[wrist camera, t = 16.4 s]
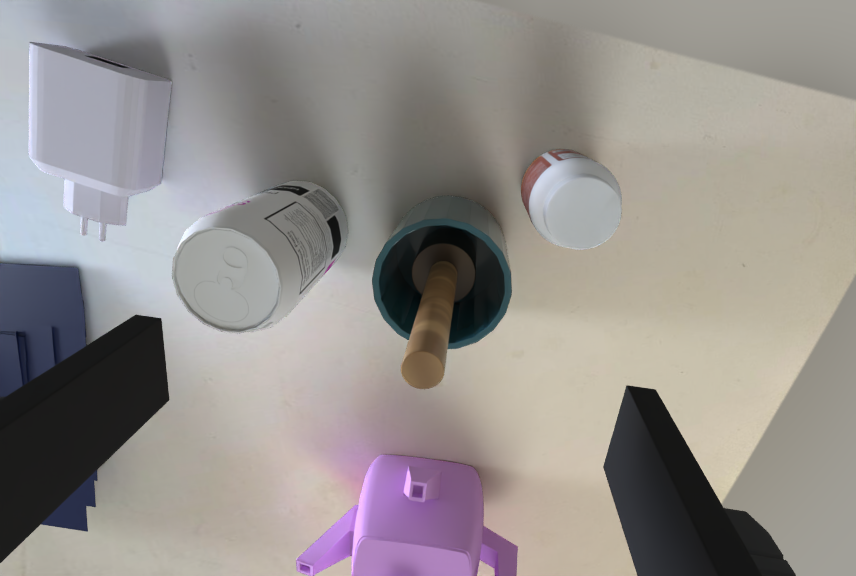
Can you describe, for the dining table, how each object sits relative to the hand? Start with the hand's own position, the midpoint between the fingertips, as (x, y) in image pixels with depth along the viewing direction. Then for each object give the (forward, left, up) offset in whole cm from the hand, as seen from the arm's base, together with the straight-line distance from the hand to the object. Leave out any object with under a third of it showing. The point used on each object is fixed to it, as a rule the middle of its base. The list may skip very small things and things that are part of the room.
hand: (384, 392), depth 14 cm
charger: (+26, -15, -31) cm, 43 cm away
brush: (+2, +5, -30) cm, 31 cm away
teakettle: (+16, +30, -31) cm, 46 cm away
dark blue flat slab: (+53, +1, -31) cm, 61 cm away
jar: (+2, +5, -31) cm, 31 cm away
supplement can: (+13, -2, -31) cm, 34 cm away
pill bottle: (-9, +3, -31) cm, 32 cm away
